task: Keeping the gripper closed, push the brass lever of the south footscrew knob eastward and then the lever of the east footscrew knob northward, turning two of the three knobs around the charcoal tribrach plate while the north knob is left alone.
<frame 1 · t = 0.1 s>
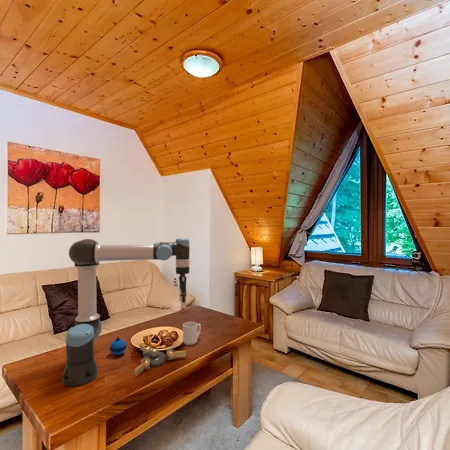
hand: (182, 304, 158), 28 cm above the table, fingers open, 13 cm apart
knob north: (144, 348, 158), point 3 cm above the table, hinge at 0.0°
tribrach plate: (154, 361, 150), on the table
ornament: (118, 354, 157), on the table
knob east: (176, 353, 152), point 3 cm above the table, hinge at 0.0°
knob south: (142, 366, 139), point 3 cm above the table, hinge at 0.0°
mug: (192, 342, 174), on the table
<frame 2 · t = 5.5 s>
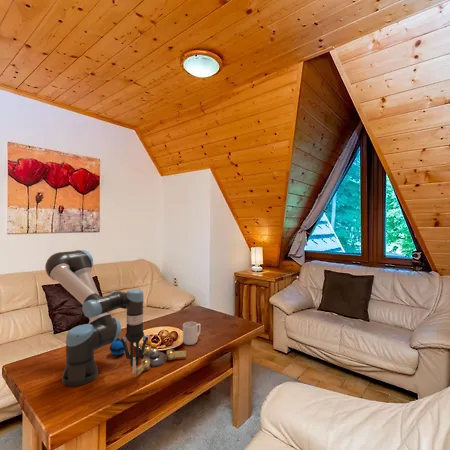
hand: (134, 372, 135), 2 cm above the table, fingers closed
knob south: (142, 366, 139), point 3 cm above the table, hinge at 4.3°, touching gripper
everything else where it was.
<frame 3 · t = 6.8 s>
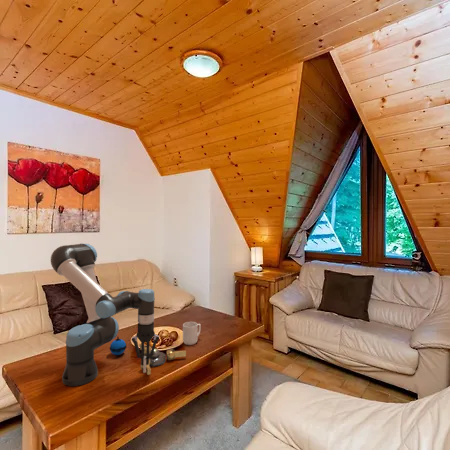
hand: (144, 371, 136), 2 cm above the table, fingers closed
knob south: (146, 366, 139), point 3 cm above the table, hinge at 45.8°, touching gripper
everything else where it was.
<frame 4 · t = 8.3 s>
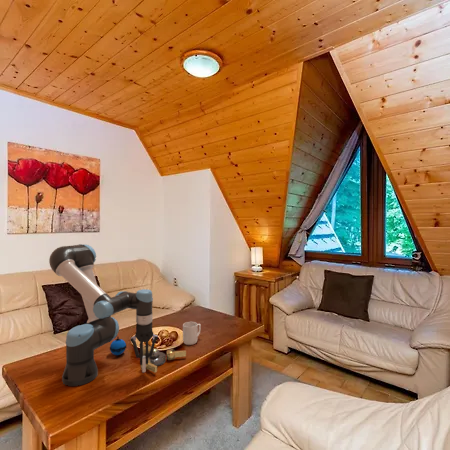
hand: (144, 370, 137), 2 cm above the table, fingers closed
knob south: (149, 365, 140), point 3 cm above the table, hinge at 70.8°
everything else where it was.
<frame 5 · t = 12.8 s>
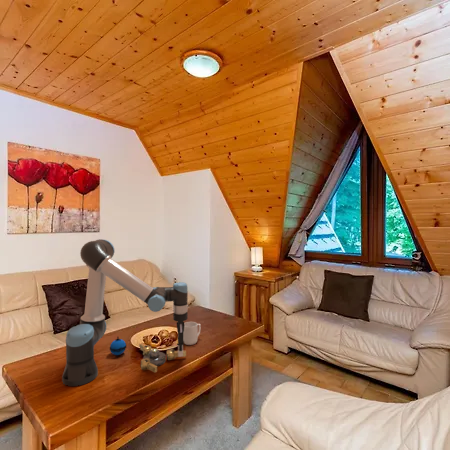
hand: (180, 355, 151), 2 cm above the table, fingers closed
knob east: (176, 353, 152), point 3 cm above the table, hinge at 0.0°, touching gripper
everything else where it was.
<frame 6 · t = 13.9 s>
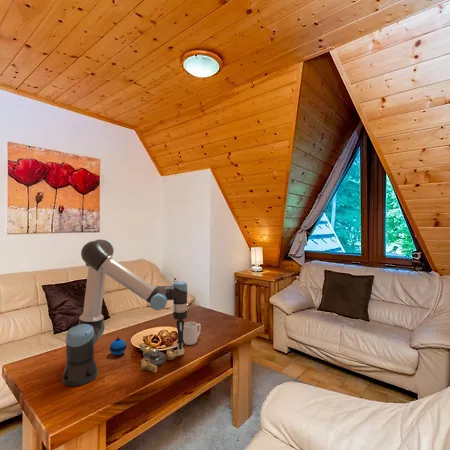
hand: (180, 354, 153), 2 cm above the table, fingers closed
knob east: (175, 352, 153), point 3 cm above the table, hinge at 26.7°, touching gripper
everything else where it was.
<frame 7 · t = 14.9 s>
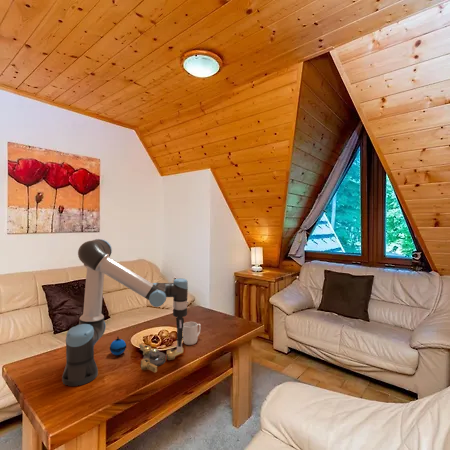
hand: (179, 351, 153), 4 cm above the table, fingers closed
knob east: (175, 352, 154), point 3 cm above the table, hinge at 35.5°
everything else where it was.
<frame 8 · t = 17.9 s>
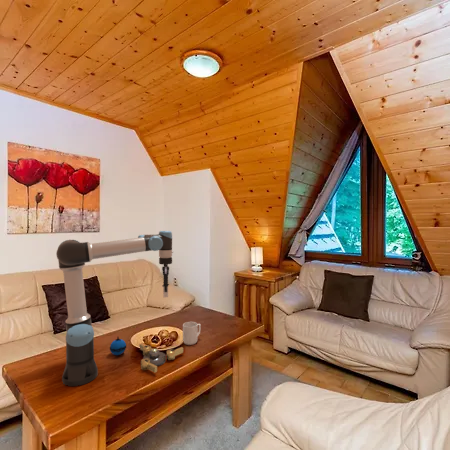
hand: (165, 296, 167), 29 cm above the table, fingers closed
nothing on the table moved.
at the end: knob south at +71° (first picture: +0°); knob east at +36° (first picture: +0°); knob north at +0° (first picture: +0°) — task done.
